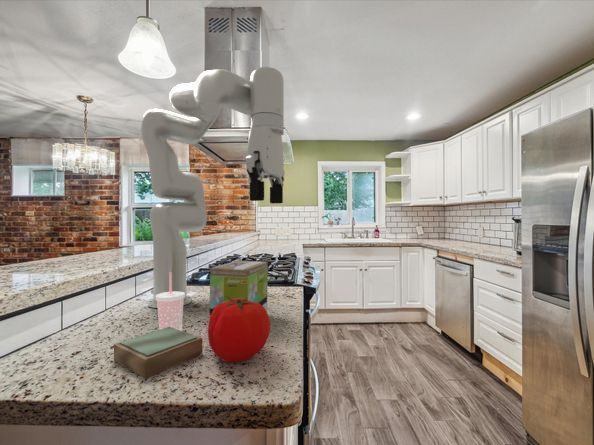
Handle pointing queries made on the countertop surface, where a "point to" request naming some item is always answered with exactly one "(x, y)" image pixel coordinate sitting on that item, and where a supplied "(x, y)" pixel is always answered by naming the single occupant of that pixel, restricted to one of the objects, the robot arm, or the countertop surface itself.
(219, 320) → the tomato
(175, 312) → the beverage cup
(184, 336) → the podium
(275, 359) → the countertop surface
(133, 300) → the countertop surface
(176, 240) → the robot arm
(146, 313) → the countertop surface
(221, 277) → the tea box
